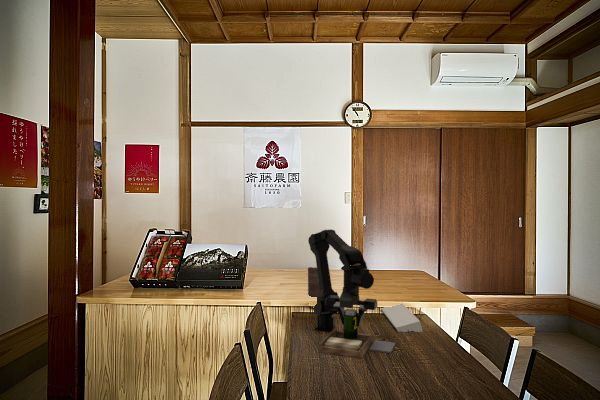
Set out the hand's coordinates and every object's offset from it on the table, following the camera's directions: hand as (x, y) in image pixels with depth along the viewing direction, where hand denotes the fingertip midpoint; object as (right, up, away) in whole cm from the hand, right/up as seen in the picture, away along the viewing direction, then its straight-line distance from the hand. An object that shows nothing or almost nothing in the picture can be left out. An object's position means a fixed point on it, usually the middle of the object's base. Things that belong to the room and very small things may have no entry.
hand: (350, 325), depth 167 cm
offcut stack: (-4, -7, -9) cm, 12 cm away
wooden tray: (-2, -7, -4) cm, 8 cm away
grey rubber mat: (+11, -7, -5) cm, 14 cm away
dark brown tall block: (-11, -6, +50) cm, 52 cm away
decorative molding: (+25, -7, +31) cm, 40 cm away
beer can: (0, -7, 0) cm, 7 cm away
